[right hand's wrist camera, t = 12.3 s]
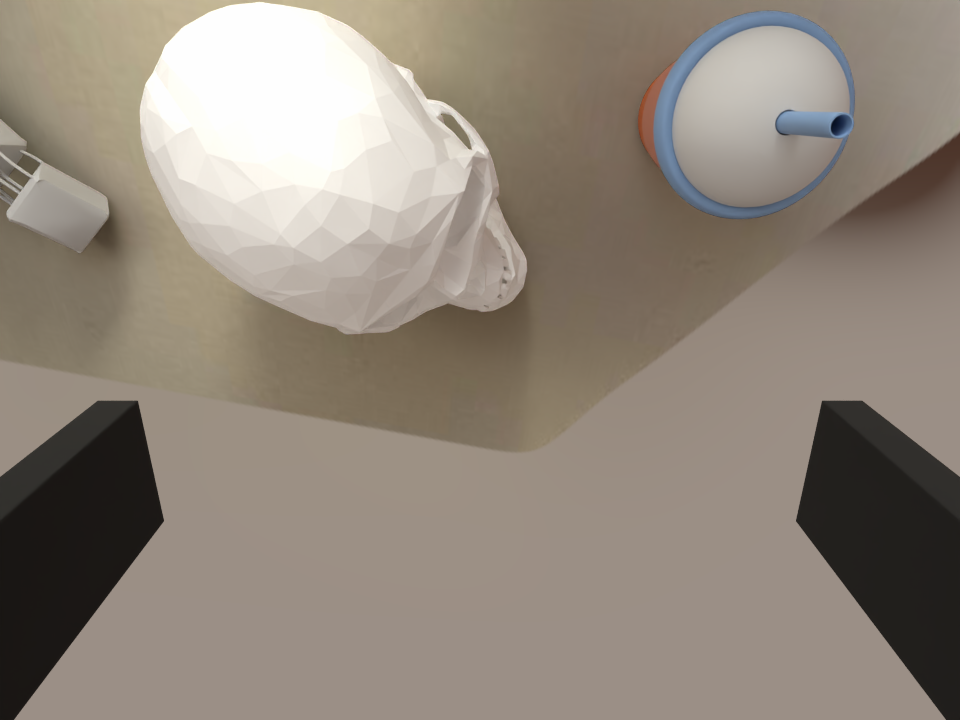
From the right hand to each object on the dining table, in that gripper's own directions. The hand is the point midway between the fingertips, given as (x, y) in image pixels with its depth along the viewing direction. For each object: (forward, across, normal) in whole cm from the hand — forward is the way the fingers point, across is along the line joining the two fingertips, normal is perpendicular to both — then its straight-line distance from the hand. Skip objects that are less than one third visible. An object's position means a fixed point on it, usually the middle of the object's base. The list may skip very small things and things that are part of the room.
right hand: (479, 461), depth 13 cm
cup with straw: (+31, -13, -6) cm, 34 cm away
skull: (+31, +6, -2) cm, 32 cm away
